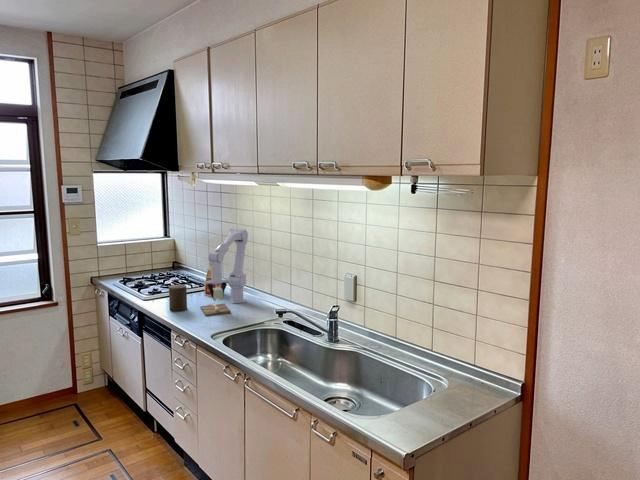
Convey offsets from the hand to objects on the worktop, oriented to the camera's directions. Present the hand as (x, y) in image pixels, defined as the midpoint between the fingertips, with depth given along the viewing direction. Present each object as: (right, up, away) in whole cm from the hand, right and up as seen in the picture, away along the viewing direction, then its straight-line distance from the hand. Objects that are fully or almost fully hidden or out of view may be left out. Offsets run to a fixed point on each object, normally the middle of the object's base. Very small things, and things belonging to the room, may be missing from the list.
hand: (217, 296), depth 274 cm
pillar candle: (-23, -8, +4) cm, 25 cm away
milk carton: (-10, -3, +36) cm, 37 cm away
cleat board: (-1, -8, +1) cm, 9 cm away
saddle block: (0, -2, 0) cm, 2 cm away
